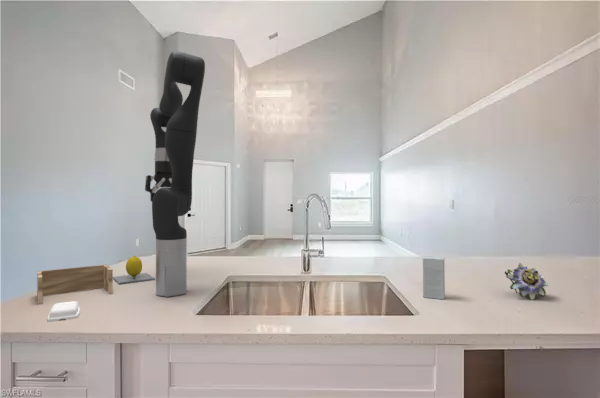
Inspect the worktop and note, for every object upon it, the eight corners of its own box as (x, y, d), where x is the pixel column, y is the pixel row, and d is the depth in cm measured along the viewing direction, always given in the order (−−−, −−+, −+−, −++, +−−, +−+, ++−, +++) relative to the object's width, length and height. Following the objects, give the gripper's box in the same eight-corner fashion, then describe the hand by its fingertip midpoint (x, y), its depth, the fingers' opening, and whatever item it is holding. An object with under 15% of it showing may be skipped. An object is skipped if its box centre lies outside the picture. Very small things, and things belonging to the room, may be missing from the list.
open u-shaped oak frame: (112, 293, 114) (112, 269, 114) (38, 304, 102) (38, 277, 102) (106, 286, 122) (106, 264, 122) (37, 295, 111) (37, 271, 111)
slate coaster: (155, 279, 133) (155, 278, 133) (119, 284, 125) (119, 282, 125) (146, 274, 142) (146, 272, 142) (112, 278, 135) (112, 276, 135)
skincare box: (444, 296, 110) (445, 257, 110) (444, 299, 106) (444, 259, 106) (424, 294, 113) (424, 255, 113) (422, 297, 109) (422, 257, 109)
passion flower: (531, 317, 107) (514, 287, 104) (506, 300, 118) (490, 272, 115) (562, 296, 107) (546, 265, 104) (534, 281, 118) (519, 252, 115)
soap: (78, 319, 90) (78, 307, 90) (45, 323, 87) (45, 311, 87) (81, 309, 98) (81, 299, 98) (51, 313, 95) (51, 302, 95)
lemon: (145, 276, 136) (145, 254, 136) (137, 279, 131) (137, 257, 131) (131, 275, 137) (131, 254, 137) (122, 278, 131) (122, 256, 131)
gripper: (148, 158, 131) (148, 203, 131) (187, 161, 140) (187, 203, 140) (143, 160, 137) (143, 203, 137) (180, 162, 146) (180, 202, 146)
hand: (165, 203), depth 139 cm, fingers open, 8 cm apart
